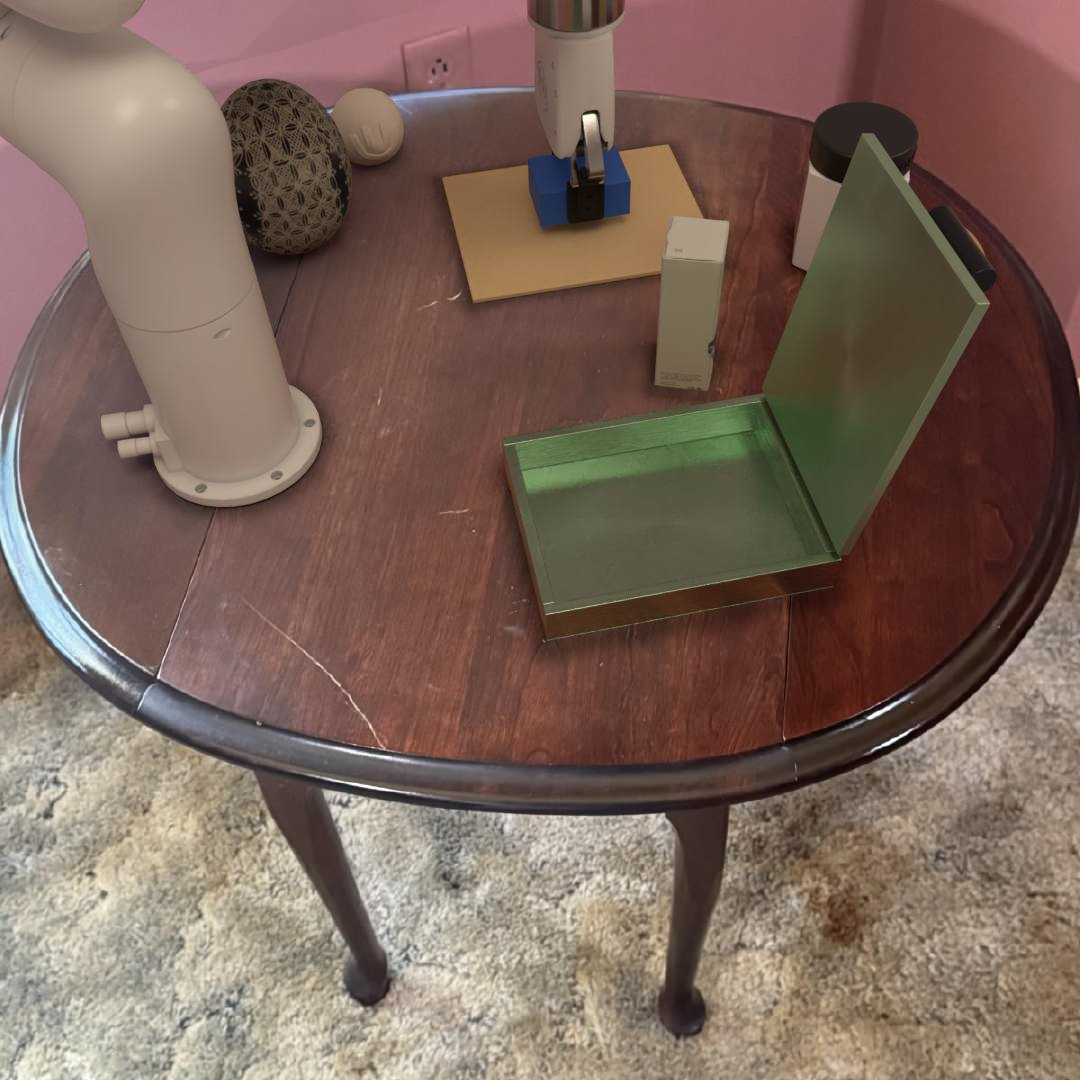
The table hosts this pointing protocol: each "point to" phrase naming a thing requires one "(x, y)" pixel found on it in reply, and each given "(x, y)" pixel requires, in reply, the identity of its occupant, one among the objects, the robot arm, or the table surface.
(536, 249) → the placemat
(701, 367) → the box
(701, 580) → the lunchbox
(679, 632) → the table surface
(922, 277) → the lunchbox lid
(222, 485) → the robot arm
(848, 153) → the jar
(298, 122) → the decorative egg
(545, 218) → the block
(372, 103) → the cream embossed ball
